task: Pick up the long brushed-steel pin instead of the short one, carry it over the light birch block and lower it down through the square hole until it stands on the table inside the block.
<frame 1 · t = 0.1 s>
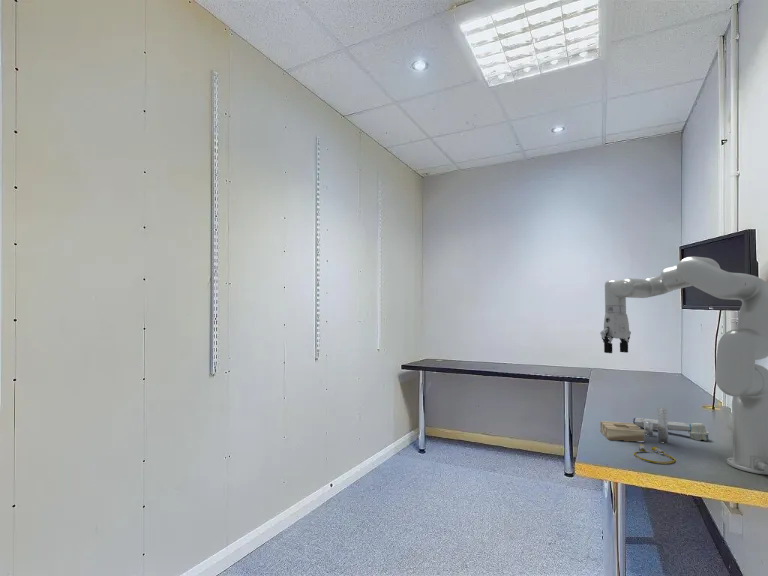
hand: (616, 352, 172), 31 cm above the table, tool pointing down, fingers open, 9 cm apart
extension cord: (654, 458, 139), on the table
short pin: (648, 434, 164), on the table
long pin: (663, 442, 155), on the table
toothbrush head: (669, 434, 166), on the table
bored block: (621, 436, 161), on the table
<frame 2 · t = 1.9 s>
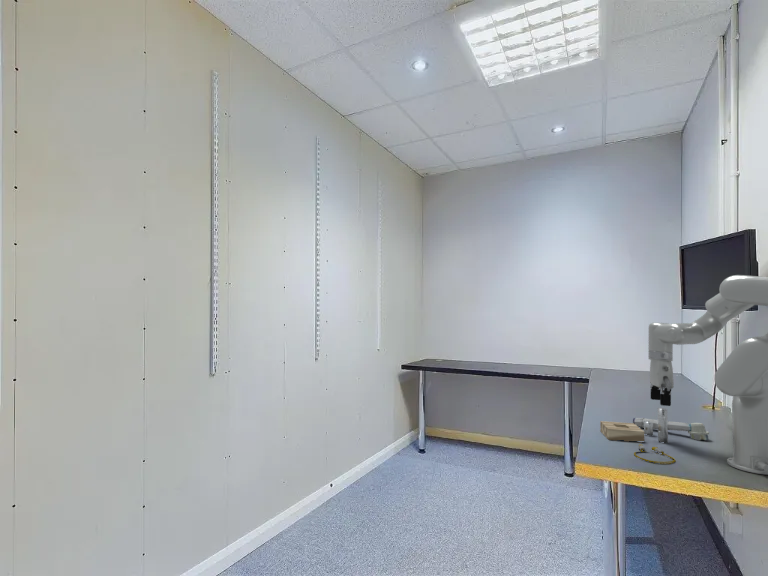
hand: (660, 402, 156), 14 cm above the table, tool pointing down, fingers open, 9 cm apart
nothing on the table moved.
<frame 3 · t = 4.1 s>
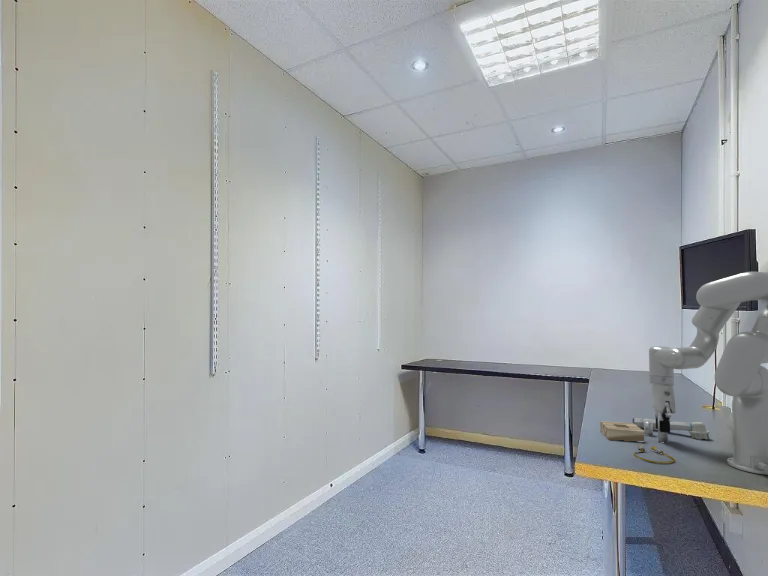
hand: (662, 430, 155), 4 cm above the table, tool pointing down, fingers closed on long pin, 3 cm apart
long pin: (663, 442, 155), on the table, touching gripper
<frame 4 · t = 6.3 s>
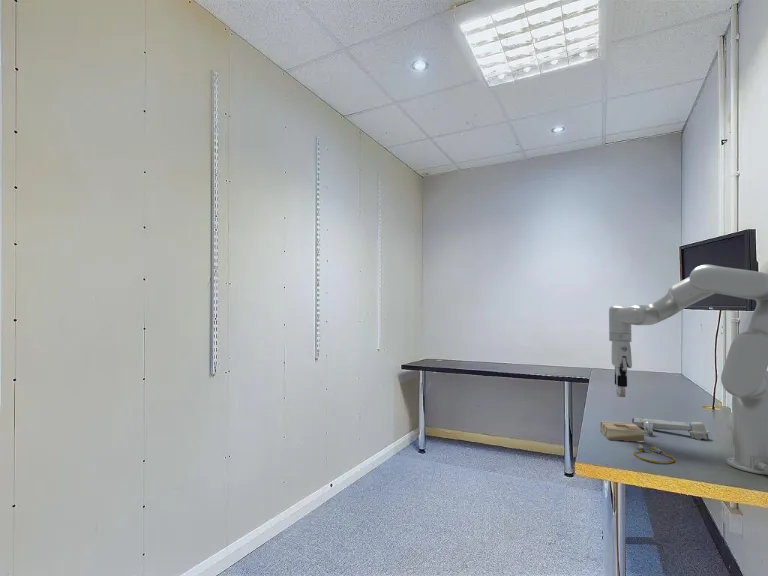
hand: (620, 385, 162), 19 cm above the table, tool pointing down, fingers closed on long pin, 3 cm apart
long pin: (621, 396, 162), point 15 cm above the table, touching gripper
everything else where it was.
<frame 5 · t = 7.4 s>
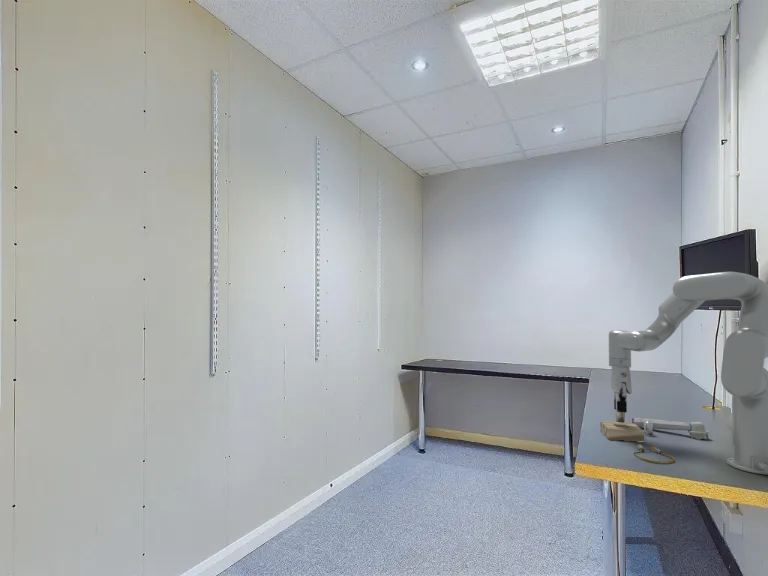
hand: (620, 410, 162), 10 cm above the table, tool pointing down, fingers closed on long pin, 3 cm apart
long pin: (620, 421, 162), point 6 cm above the table, touching gripper
everything else where it was.
when the fingers open (6 cm above the table, at t = 8.5 s): long pin drops 1 cm, resting in bored block.
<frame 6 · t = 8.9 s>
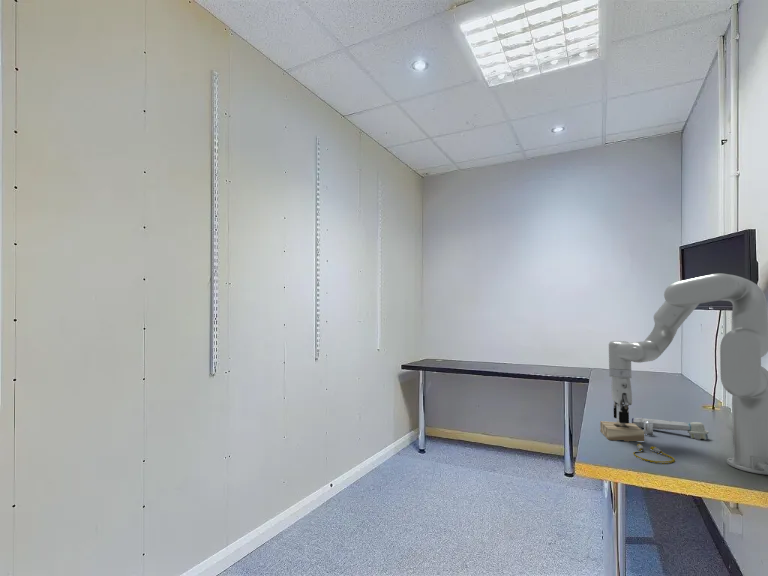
hand: (621, 420, 161), 6 cm above the table, tool pointing down, fingers open, 6 cm apart
long pin: (621, 436, 161), resting in bored block
everything else where it was.
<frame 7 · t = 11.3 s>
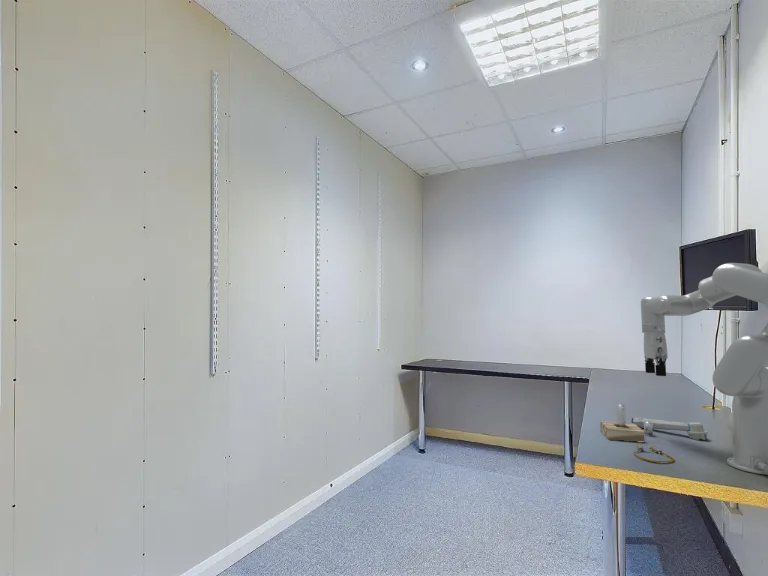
hand: (655, 374, 161), 24 cm above the table, tool pointing down, fingers open, 9 cm apart
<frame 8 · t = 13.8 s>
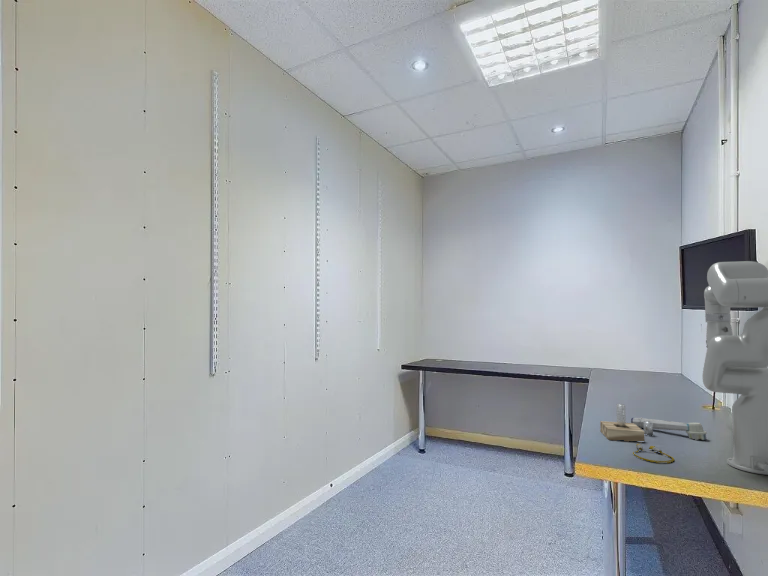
hand: (719, 364, 159), 28 cm above the table, tool pointing down, fingers open, 9 cm apart
nothing on the table moved.
at the end: long pin 0.1 cm off-centre on the bored block, point 0.0 cm above the bored block's base; long pin tilted 0°; short pin moved 0.0 cm from its start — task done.
